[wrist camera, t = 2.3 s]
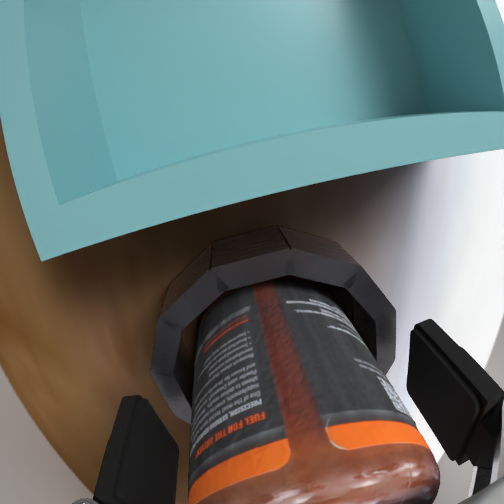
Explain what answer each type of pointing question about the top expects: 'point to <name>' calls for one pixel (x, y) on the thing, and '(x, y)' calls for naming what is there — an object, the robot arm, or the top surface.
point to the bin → (231, 101)
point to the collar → (254, 271)
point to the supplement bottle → (297, 407)
